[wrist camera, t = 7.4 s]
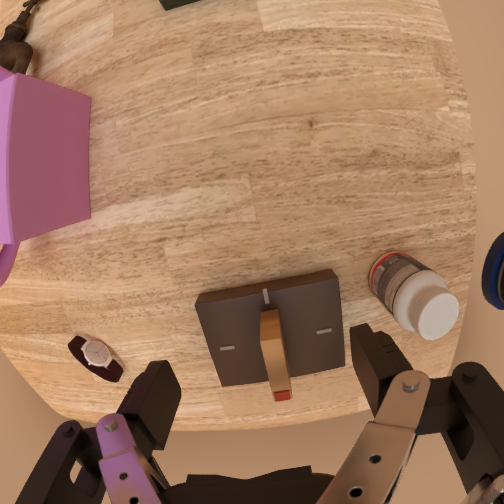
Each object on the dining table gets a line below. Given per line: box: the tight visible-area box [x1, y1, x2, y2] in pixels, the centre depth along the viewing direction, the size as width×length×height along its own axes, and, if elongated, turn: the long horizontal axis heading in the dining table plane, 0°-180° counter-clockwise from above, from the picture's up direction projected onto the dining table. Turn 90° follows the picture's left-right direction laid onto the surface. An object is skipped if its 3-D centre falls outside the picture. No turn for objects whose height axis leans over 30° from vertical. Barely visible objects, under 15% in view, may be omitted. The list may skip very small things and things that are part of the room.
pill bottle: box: [369, 251, 459, 340], centre depth 22 cm, size 5×5×10 cm
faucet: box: [0, 0, 40, 75], centre depth 18 cm, size 5×17×15 cm
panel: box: [195, 269, 345, 387], centre depth 27 cm, size 13×11×3 cm
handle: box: [260, 309, 292, 402], centre depth 24 cm, size 6×2×5 cm, turn 12°
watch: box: [68, 336, 123, 382], centre depth 29 cm, size 8×5×4 cm, turn 57°
